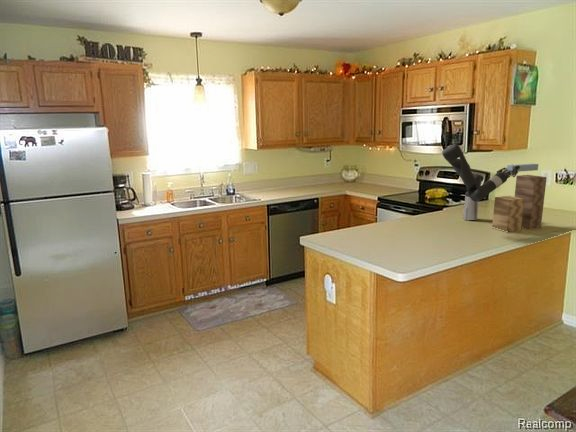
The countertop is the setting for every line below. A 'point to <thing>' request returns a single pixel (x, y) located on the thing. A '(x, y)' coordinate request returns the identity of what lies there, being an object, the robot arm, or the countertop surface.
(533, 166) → the bar
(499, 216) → the block
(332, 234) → the countertop surface
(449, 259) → the countertop surface
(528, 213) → the post
